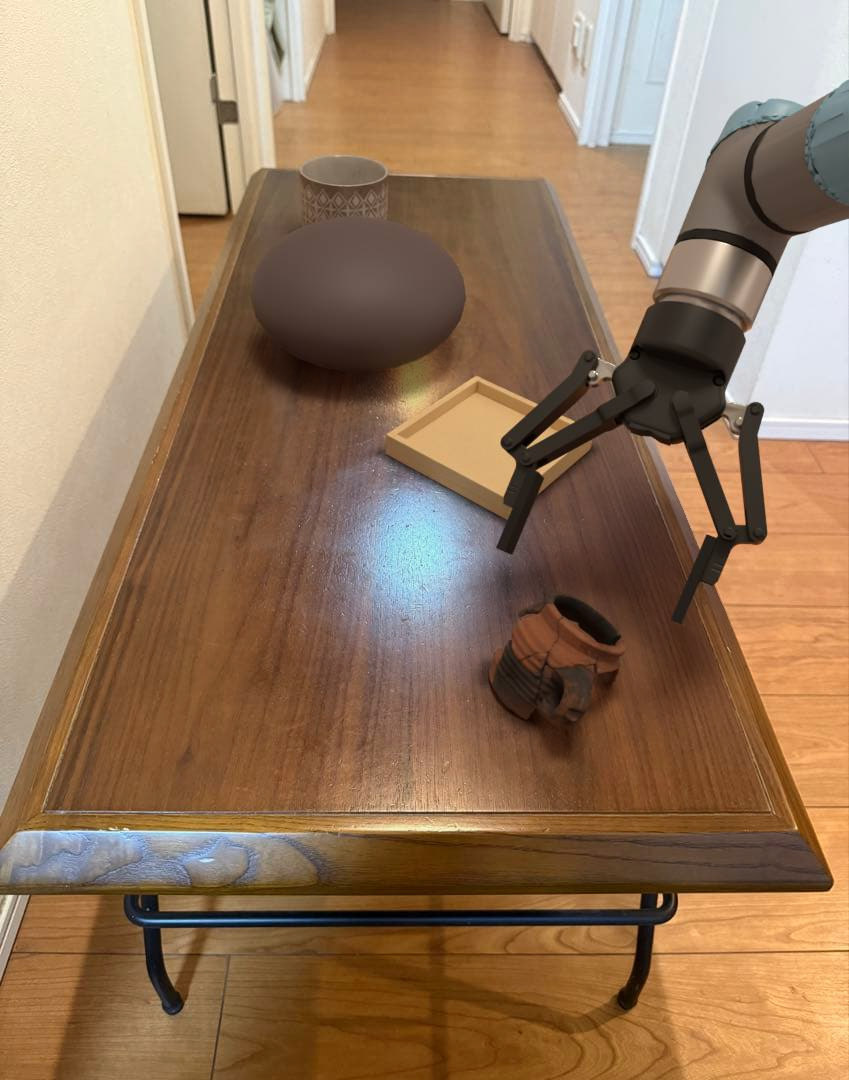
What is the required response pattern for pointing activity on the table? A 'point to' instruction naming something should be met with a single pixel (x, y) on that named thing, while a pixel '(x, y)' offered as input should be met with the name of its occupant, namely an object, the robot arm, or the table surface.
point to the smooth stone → (358, 294)
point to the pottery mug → (556, 659)
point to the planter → (342, 188)
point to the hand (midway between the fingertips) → (586, 586)
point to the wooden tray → (473, 443)
